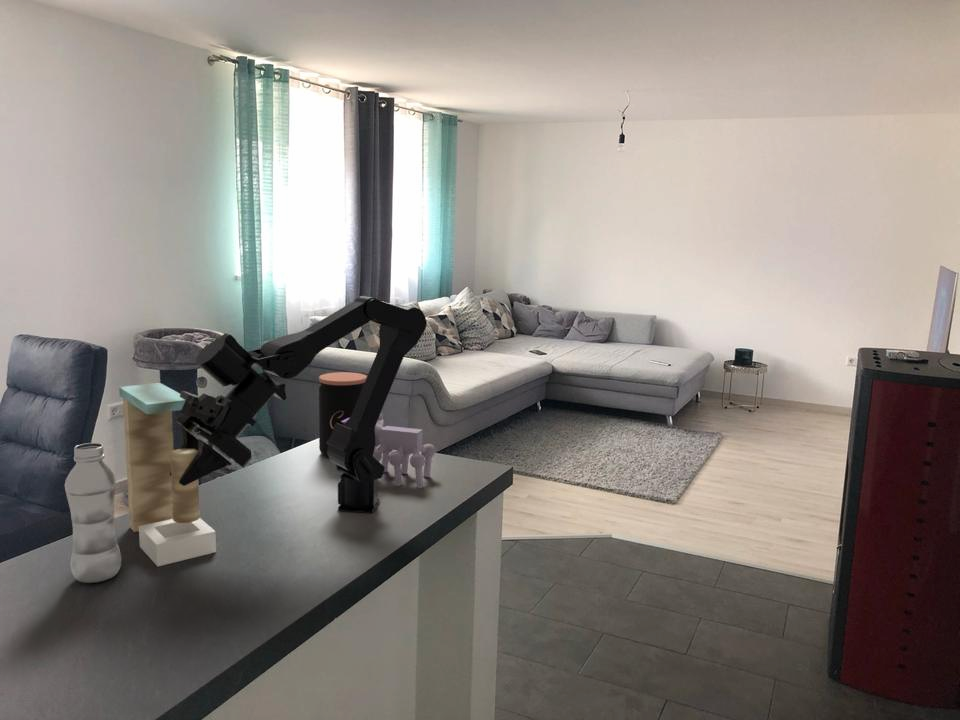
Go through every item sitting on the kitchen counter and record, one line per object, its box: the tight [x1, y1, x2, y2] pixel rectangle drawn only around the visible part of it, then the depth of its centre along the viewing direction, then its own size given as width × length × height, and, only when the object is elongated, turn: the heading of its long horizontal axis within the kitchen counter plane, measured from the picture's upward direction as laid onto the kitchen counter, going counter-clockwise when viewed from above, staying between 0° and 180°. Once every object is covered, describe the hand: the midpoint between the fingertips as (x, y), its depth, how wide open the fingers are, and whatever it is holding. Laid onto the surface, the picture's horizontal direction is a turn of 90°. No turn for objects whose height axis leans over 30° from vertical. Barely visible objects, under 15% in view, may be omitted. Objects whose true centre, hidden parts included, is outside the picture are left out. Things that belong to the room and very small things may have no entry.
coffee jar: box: [318, 371, 368, 459], centre depth 176 cm, size 11×11×18 cm
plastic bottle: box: [64, 442, 123, 584], centre depth 112 cm, size 6×7×20 cm
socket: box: [138, 517, 217, 567], centre depth 124 cm, size 9×9×4 cm
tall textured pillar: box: [118, 382, 186, 533], centre depth 127 cm, size 8×15×24 cm, turn 39°
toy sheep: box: [341, 413, 436, 489], centre depth 161 cm, size 20×11×14 cm, turn 74°
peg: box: [171, 448, 201, 523], centre depth 124 cm, size 4×4×11 cm
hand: (176, 480), depth 123 cm, fingers closed on peg, 4 cm apart
